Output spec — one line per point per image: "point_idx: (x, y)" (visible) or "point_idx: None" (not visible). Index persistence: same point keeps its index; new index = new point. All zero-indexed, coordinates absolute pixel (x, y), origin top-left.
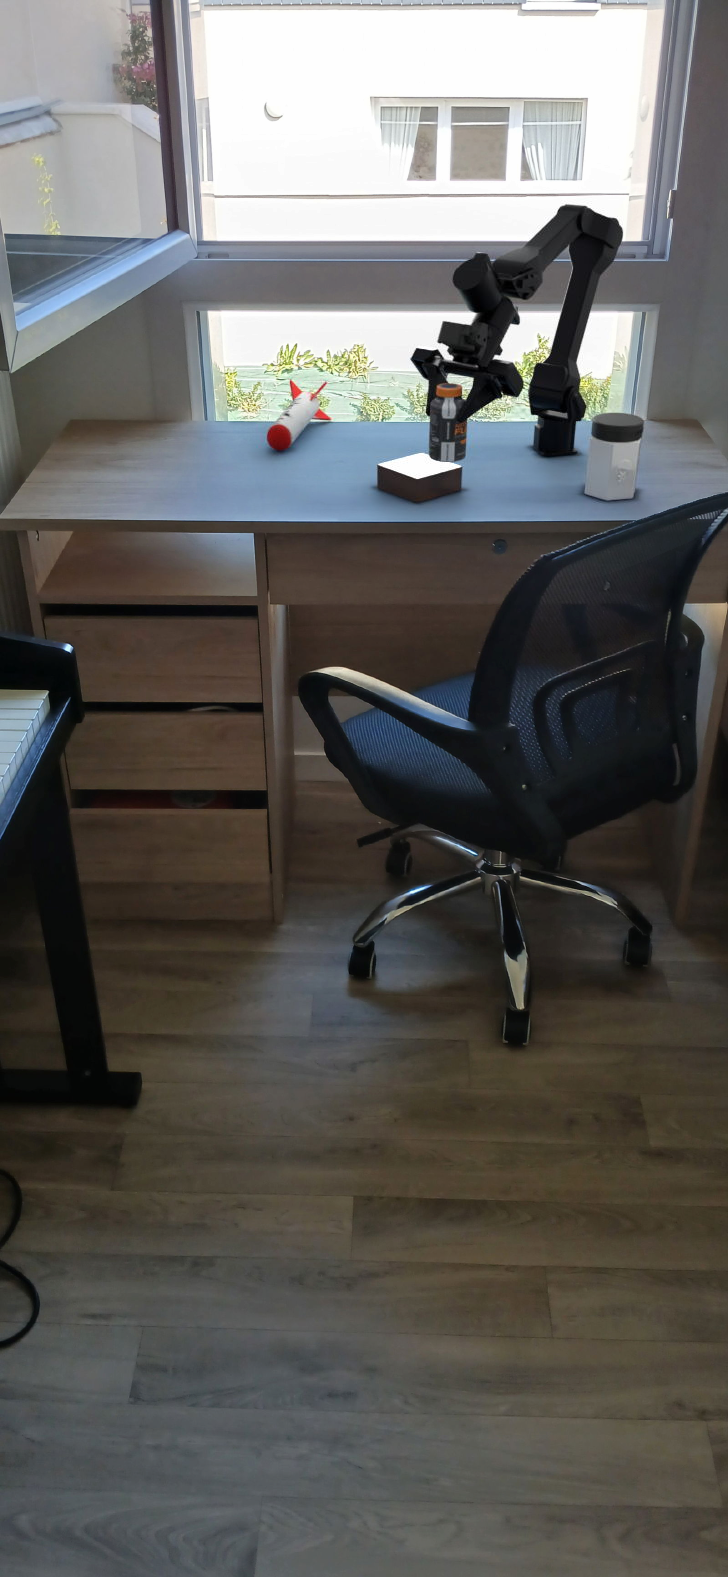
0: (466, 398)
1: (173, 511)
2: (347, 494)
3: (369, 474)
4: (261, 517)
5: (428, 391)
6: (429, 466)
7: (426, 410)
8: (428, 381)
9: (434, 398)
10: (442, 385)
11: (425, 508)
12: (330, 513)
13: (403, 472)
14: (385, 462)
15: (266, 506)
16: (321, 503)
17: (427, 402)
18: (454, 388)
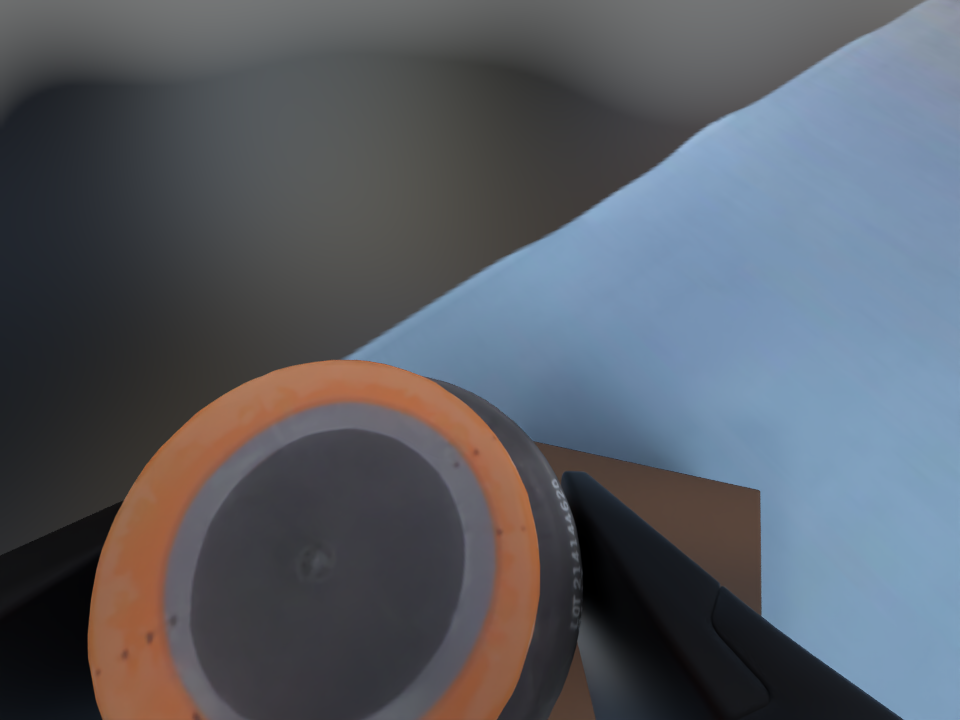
0: (67, 564)
1: (905, 68)
2: (728, 386)
3: (866, 627)
4: (736, 136)
5: (710, 582)
6: None
7: (580, 476)
8: (879, 705)
9: (601, 598)
10: (427, 493)
11: None
12: (633, 239)
13: (595, 466)
14: (755, 535)
15: (798, 189)
16: (716, 282)
17: (618, 507)
18: (177, 477)
